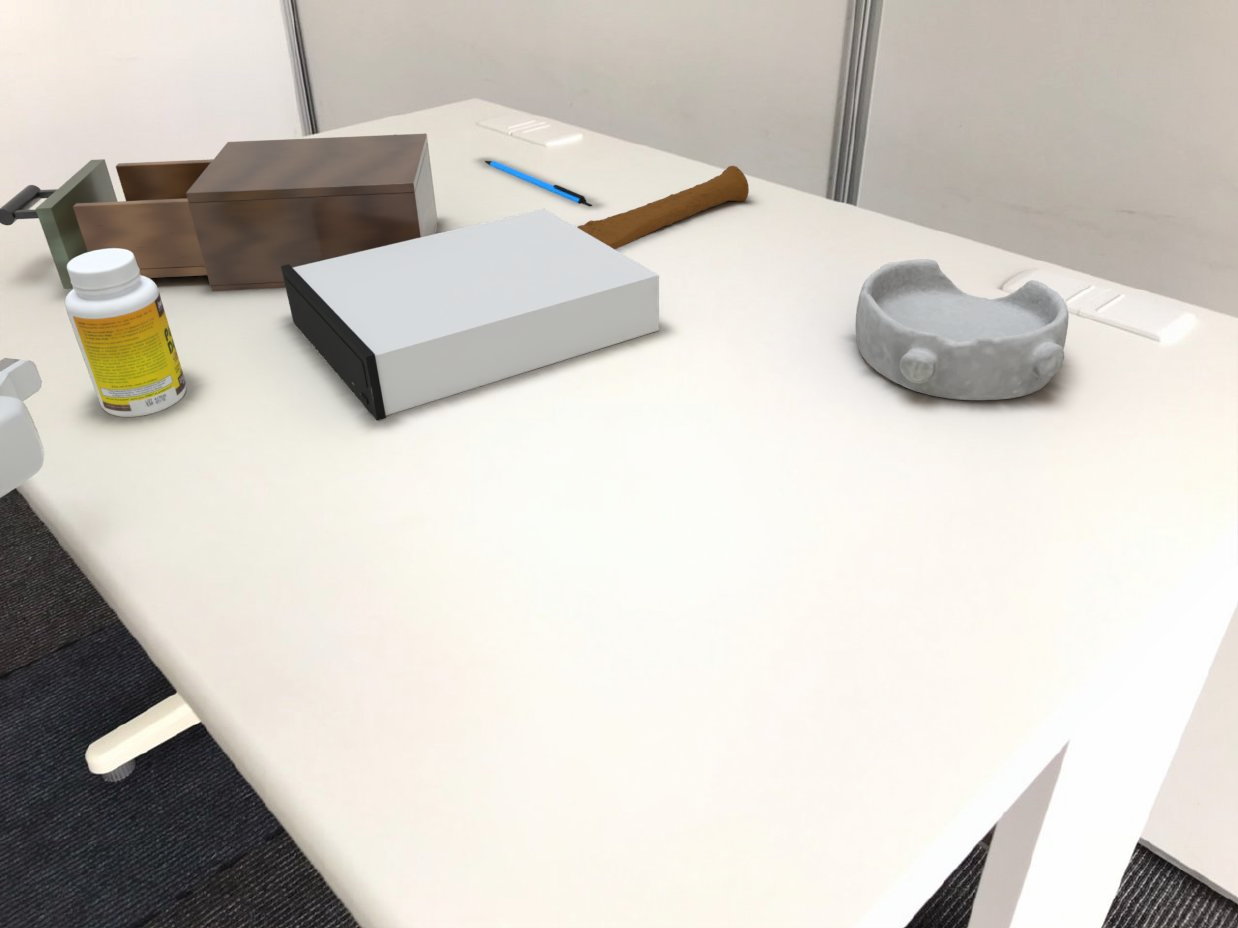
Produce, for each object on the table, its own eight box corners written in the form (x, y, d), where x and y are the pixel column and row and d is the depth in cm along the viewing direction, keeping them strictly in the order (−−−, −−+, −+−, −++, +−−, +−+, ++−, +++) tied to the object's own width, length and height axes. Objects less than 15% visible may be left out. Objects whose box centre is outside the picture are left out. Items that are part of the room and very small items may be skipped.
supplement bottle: (200, 402, 69) (159, 261, 63) (116, 431, 66) (65, 285, 60) (173, 372, 72) (131, 236, 66) (91, 398, 69) (41, 258, 64)
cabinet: (212, 295, 83) (185, 193, 78) (249, 234, 94) (227, 141, 90) (427, 284, 84) (413, 182, 79) (438, 225, 95) (426, 133, 91)
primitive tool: (601, 256, 88) (599, 217, 86) (563, 239, 92) (561, 202, 90) (753, 205, 98) (755, 169, 96) (714, 192, 102) (715, 157, 100)
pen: (587, 212, 98) (587, 200, 97) (481, 166, 110) (480, 156, 110) (594, 210, 98) (594, 198, 98) (488, 164, 111) (487, 154, 110)
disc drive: (292, 326, 78) (278, 265, 75) (546, 259, 88) (542, 204, 85) (375, 425, 66) (363, 357, 63) (660, 335, 76) (660, 273, 73)
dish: (855, 310, 78) (862, 249, 76) (1043, 325, 76) (1058, 262, 73) (847, 403, 67) (855, 336, 64) (1069, 425, 64) (1088, 355, 61)
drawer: (1, 292, 82) (-30, 211, 78) (59, 236, 92) (33, 162, 89) (268, 279, 83) (249, 199, 80) (296, 224, 94) (280, 151, 90)
